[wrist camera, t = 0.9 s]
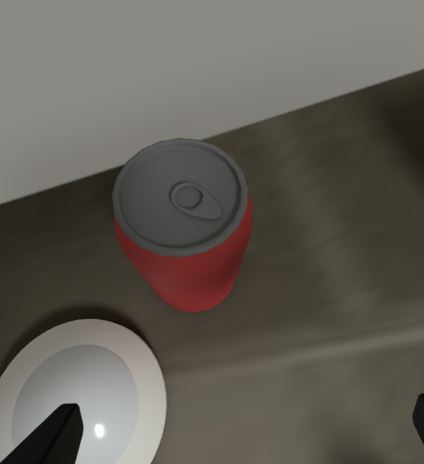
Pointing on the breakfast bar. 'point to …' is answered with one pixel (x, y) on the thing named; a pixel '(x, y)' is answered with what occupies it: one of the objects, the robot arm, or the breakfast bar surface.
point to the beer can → (184, 220)
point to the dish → (88, 391)
